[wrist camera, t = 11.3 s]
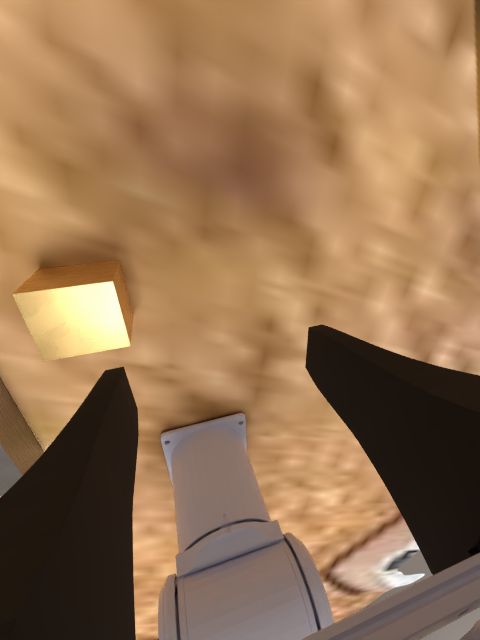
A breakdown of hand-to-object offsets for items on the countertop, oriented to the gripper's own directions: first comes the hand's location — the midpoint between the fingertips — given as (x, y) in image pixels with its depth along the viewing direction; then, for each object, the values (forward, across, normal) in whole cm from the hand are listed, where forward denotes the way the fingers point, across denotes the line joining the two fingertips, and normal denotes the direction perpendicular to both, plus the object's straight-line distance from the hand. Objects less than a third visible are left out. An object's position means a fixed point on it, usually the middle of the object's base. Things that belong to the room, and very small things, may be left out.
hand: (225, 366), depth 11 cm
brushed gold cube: (+10, +6, 0) cm, 12 cm away
